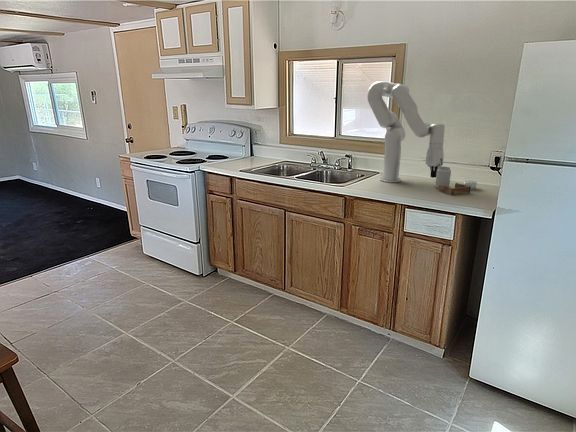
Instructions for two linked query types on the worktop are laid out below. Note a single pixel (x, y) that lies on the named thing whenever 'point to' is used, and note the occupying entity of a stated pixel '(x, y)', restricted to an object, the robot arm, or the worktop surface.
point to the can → (443, 176)
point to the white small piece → (470, 184)
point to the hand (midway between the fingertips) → (433, 177)
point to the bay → (455, 189)
